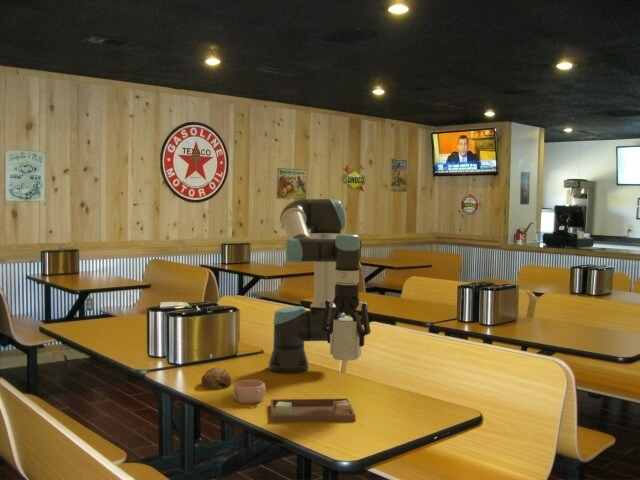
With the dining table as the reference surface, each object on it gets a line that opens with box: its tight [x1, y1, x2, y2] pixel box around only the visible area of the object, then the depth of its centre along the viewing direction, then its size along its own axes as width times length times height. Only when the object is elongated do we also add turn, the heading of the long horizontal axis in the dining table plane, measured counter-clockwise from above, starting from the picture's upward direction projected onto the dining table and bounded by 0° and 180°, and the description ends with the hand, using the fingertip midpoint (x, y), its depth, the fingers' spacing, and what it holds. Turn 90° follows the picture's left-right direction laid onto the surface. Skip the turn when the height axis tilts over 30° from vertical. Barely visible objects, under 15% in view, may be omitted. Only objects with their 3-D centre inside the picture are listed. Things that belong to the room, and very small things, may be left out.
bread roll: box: [200, 367, 232, 390], centre depth 229 cm, size 10×10×8 cm
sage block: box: [275, 402, 292, 415], centre depth 194 cm, size 4×4×4 cm
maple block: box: [333, 400, 351, 414], centre depth 196 cm, size 4×4×4 cm
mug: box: [233, 379, 267, 405], centre depth 210 cm, size 12×10×6 cm
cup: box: [332, 317, 359, 362], centre depth 210 cm, size 8×8×12 cm
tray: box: [270, 398, 356, 423], centre depth 199 cm, size 16×24×2 cm, turn 96°
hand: (345, 354), depth 211 cm, fingers closed on cup, 8 cm apart
